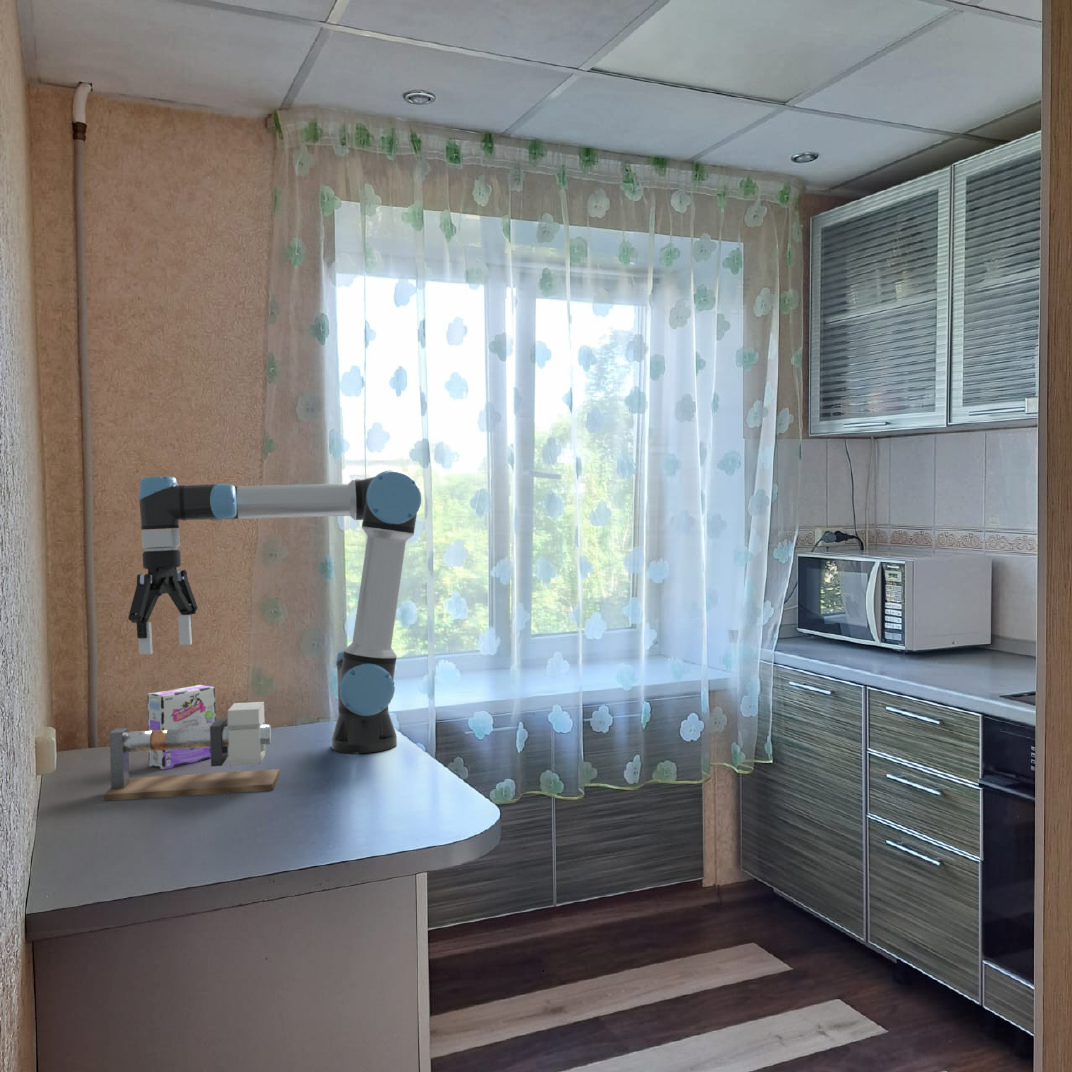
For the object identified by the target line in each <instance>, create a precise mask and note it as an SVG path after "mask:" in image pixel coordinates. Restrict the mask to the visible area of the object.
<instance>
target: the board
mask: <svg viewBox="0 0 1072 1072" xmlns="http://www.w3.org/2000/svg"><path fill="white" fill-rule="evenodd" d="M279 777H280V768H277V769H258V770H245V771H244V770H243V771H242V770H241V771H228V772H225V771H224V772H212V773H209V772H207V773H193V774H178V775H174V774H173V775H159V776H145V777H129V782H130V783H129V784H128V785H127V786H126V787H125V788H121V789H111V787H110V788H109V789H108V790H107V791H105V793H104V794H103V797H102V798H103V799H102V801H103V802H109V801H123V800H139V799H142V800H143V799H154V798H155V799H159V798H171V797H186V796H187V797H189V796H202V795H206V796H207V795H218V794H220V795H221V794H234V793H250V792H251V793H252V792H266V791H267V792H268V791H273V790H274V789H275V786H276V784H277V782H278V778H279Z"/></svg>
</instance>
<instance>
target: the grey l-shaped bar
mask: <svg viewBox="0 0 1072 1072" xmlns="http://www.w3.org/2000/svg"><path fill="white" fill-rule="evenodd" d="M221 733H222V747H226V746H228V747H229V738H228V725H227V727H223V729H222V730H221ZM271 741H272V726H271V724H270V723H269V724H268V723H267V724H266V723H265V724H264V725H261V727H260V745H262V744H265V745H270V744H271ZM209 747H211V744H210V727H208V728H189V729H171V730H152V731H148V730H135V731H129V728H128V727H124V728H123V727H122V728H121V727H120V728H115V729H113V730H111V731H110V732H109V755H110V757H109V758H110V782H111V783H110V788H111V789H121V788H125V787H126V786H127V785H128V784H129V783H130V782H129V778H130V761H129V760H130V757H129V753H135V752H149V751H155V750H173V749H191V748H209Z"/></svg>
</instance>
